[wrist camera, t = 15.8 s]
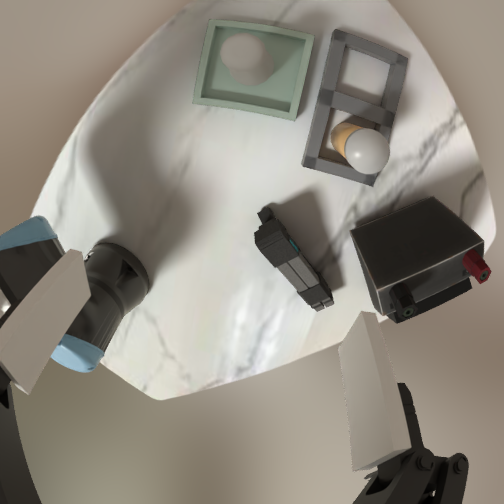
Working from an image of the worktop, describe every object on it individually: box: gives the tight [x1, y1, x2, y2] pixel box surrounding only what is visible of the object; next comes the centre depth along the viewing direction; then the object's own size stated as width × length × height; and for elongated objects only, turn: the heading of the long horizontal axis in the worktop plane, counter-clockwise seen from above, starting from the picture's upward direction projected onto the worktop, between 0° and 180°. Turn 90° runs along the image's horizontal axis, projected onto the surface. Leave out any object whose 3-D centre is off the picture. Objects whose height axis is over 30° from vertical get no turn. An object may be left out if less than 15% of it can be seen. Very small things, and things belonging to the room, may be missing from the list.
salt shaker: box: [220, 33, 274, 86], centre depth 25 cm, size 6×6×13 cm
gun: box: [254, 207, 334, 312], centre depth 45 cm, size 4×20×10 cm, turn 34°
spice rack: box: [301, 29, 408, 187], centre depth 28 cm, size 11×21×10 cm, turn 169°
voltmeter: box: [349, 196, 491, 323], centre depth 35 cm, size 16×16×20 cm
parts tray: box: [192, 19, 315, 121], centre depth 30 cm, size 14×13×2 cm
